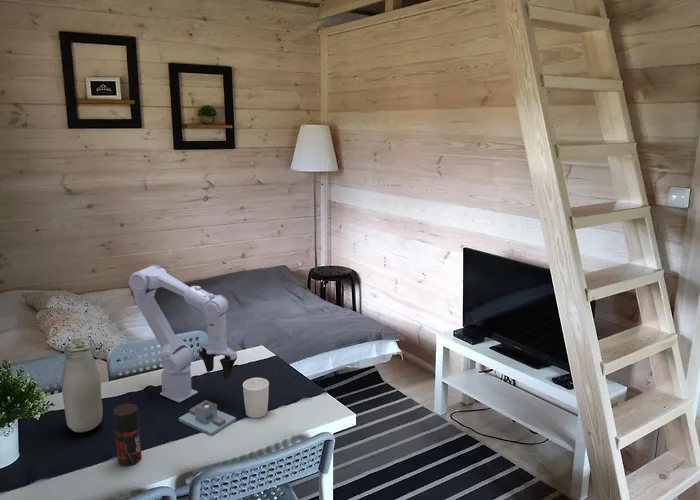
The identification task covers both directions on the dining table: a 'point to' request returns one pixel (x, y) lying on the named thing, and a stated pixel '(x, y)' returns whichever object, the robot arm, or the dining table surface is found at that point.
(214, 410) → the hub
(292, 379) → the dining table surface
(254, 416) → the white cup
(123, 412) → the deodorant
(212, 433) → the shaft base
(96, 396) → the glass bottle
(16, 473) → the dining table surface
